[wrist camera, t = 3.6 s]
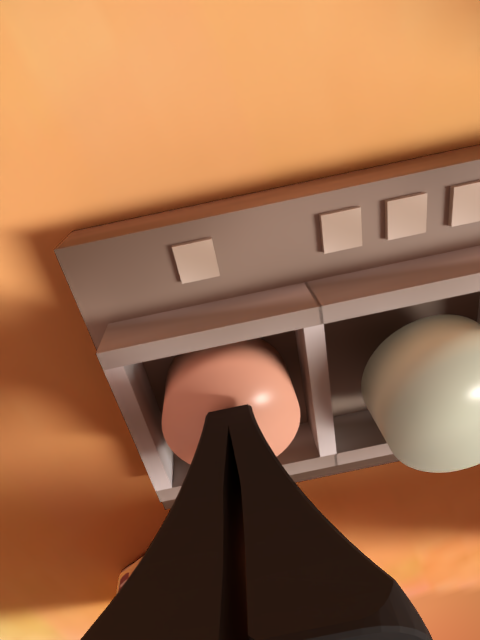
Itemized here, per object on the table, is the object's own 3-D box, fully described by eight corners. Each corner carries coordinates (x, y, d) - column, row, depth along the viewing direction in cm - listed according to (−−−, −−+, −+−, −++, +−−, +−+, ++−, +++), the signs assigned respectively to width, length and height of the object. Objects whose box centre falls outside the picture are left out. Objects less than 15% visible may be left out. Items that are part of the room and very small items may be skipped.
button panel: (600, 382, 19) (684, 441, 16) (168, 472, 19) (162, 549, 16) (686, 100, 13) (848, 98, 10) (72, 231, 14) (31, 272, 10)
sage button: (487, 412, 14) (528, 455, 12) (363, 438, 14) (387, 485, 12) (503, 300, 12) (556, 334, 10) (358, 331, 12) (385, 370, 10)
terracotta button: (294, 418, 16) (307, 457, 14) (183, 440, 16) (181, 483, 14) (279, 320, 13) (291, 352, 12) (150, 347, 14) (143, 383, 12)
